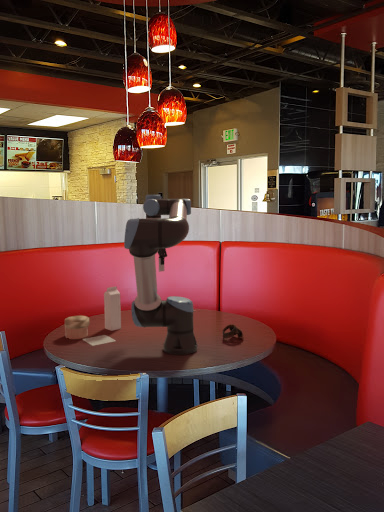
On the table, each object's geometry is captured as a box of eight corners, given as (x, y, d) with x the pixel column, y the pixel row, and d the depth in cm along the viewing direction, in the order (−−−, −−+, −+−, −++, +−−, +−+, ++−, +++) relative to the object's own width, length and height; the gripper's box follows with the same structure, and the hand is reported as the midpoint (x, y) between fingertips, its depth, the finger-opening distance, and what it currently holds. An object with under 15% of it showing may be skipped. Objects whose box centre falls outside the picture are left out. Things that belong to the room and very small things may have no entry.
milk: (121, 329, 241) (120, 287, 238) (111, 331, 237) (110, 288, 234) (114, 326, 246) (113, 285, 243) (104, 329, 242) (103, 286, 239)
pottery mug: (246, 343, 219) (238, 329, 217) (227, 351, 221) (220, 337, 218) (244, 329, 230) (236, 316, 228) (226, 337, 232) (219, 324, 230)
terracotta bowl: (90, 337, 228) (90, 326, 227) (70, 341, 222) (69, 329, 221) (82, 332, 236) (82, 321, 236) (62, 335, 230) (61, 324, 230)
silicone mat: (116, 341, 221) (116, 340, 221) (92, 346, 214) (92, 345, 214) (105, 335, 230) (105, 334, 230) (82, 340, 223) (82, 339, 223)
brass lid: (70, 330, 220) (70, 322, 220) (61, 324, 230) (60, 317, 229) (93, 326, 227) (93, 319, 227) (83, 321, 236) (83, 314, 236)
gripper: (174, 227, 221) (174, 272, 224) (147, 224, 242) (148, 265, 244) (160, 228, 217) (161, 273, 220) (134, 225, 237) (135, 267, 240)
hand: (154, 269), depth 232 cm, fingers open, 13 cm apart
